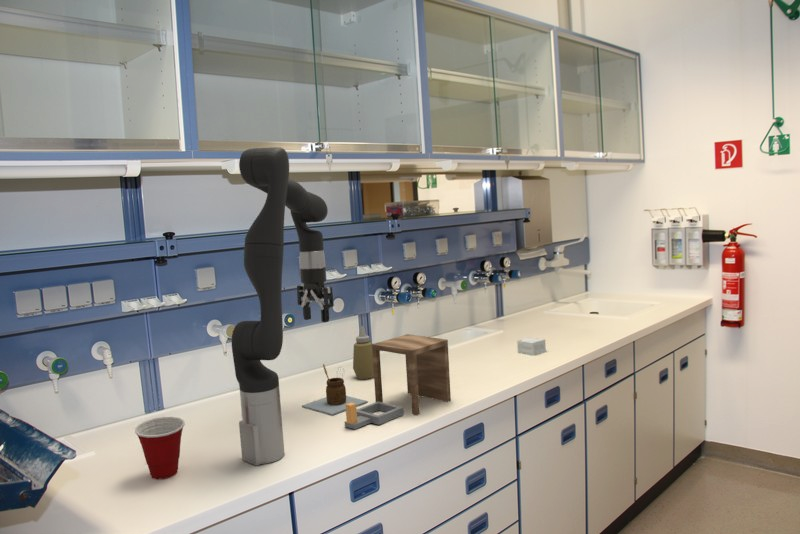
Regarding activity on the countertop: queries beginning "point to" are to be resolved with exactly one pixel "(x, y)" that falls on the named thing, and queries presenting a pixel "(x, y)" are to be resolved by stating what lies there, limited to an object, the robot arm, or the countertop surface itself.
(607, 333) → the countertop surface
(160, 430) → the plastic cup
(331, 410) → the slate mat
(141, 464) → the countertop surface
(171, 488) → the countertop surface
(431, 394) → the walnut shelf
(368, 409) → the sliding frame
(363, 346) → the squeeze bottle
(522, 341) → the small box
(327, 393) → the utensil holder
